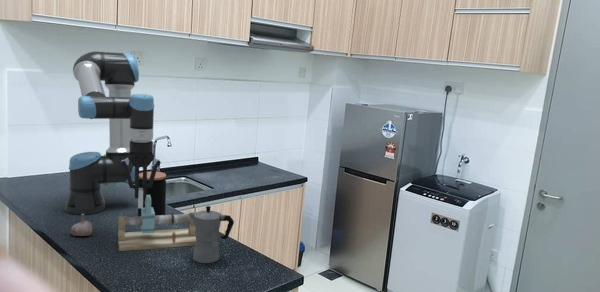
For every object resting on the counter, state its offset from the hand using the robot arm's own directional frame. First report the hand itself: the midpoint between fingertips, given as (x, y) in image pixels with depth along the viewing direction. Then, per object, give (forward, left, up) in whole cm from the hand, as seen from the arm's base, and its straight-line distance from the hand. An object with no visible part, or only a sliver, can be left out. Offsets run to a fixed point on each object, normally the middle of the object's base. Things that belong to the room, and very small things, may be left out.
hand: (140, 207), depth 163 cm
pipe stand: (0, +6, -13) cm, 14 cm away
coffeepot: (+18, +21, -13) cm, 31 cm away
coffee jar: (-25, +6, -13) cm, 29 cm away
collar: (0, +3, -9) cm, 9 cm away
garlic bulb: (-11, -19, -13) cm, 26 cm away
